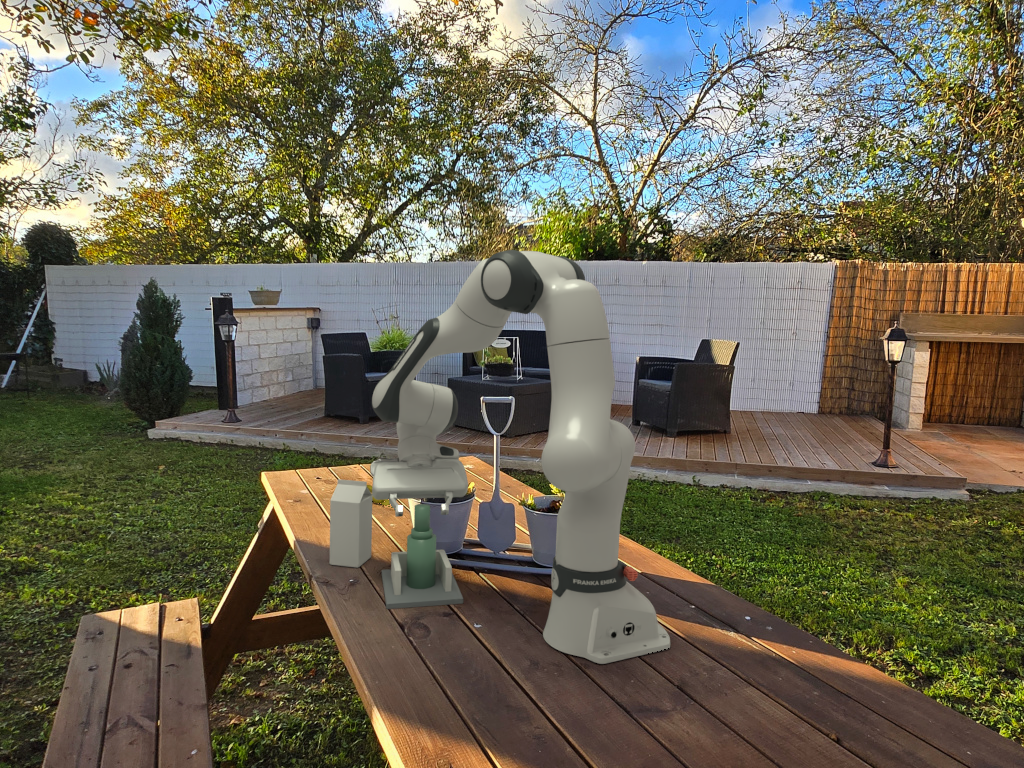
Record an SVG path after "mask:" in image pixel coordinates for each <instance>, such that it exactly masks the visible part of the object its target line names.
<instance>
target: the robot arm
mask: <svg viewBox="0 0 1024 768" xmlns="http://www.w3.org/2000/svg"><path fill="white" fill-rule="evenodd" d="M512 313H518V314H522V315H529V314H530V313H531V314H537V315H538V316H539V317H540V318H541V320H542V321H543V324H544V329H545V338H546V339H545V340H546V349H547V356H548V365H549V376H550V384H551V385H550V386H551V399H550V400H551V403H550V414H549V422H548V423H549V424H548V433H547V434H548V435H547V440H546V443H545V445H544V447H543V449H542V453H541V457H540V458H541V461H540V462H541V470H542V472H543V474H544V476H545V478H546V480H548V481H549V483H550V484H551V485H552V486H554V487H555V488H556V489H559V490H561V491H564V492H565V493H564V497H563V499H562V500H563V501H562V502H561V503H562V504H561V506H560V508H559V510H558V512H557V516H556V535H555V536H556V538H555V539H556V541H555V556H554V557H553V559H552V568H551V578H550V579H551V590H552V595H551V596H552V597H551V601H550V607H549V611H548V616H547V620H546V623H545V626H544V628H543V631H542V636H543V639H544V641H545V642H546V643H547V644H548V645H549V646H550V647H552V648H553V649H555V650H558V651H559V652H562V653H564V654H568V655H571V656H572V655H573V656H575V657H576V656H577V657H580V658H585V659H587V660H589V661H591V662H593V663H595V664H596V663H597V664H600V665H604V664H609V663H613V662H618V661H622V660H627V659H630V658H635V657H639V656H644V655H648V653H649V654H652V652H653V653H658V652H660V651H661V650H662V651H665V650H664V649H666V650H669V649H670V648H671V638H670V635H669V634H668V632H667V630H666V629H665V628H664V627H663V626H662V625H661V624H660V623H659V622H658V615H657V612H656V608H655V607H654V605H653V604H652V603H651V601H650V600H649V599H648V598H647V597H646V596H645V595H644V594H643V593H641V591H640V590H638V589H637V588H636V587H634V586H633V584H631V583H629V582H634V581H636V580H637V579H638V577H639V573H638V571H637V570H636V569H634V568H633V567H632V566H627V564H625V562H624V561H621V560H620V559H619V550H620V548H619V547H620V546H619V545H620V530H621V520H622V512H623V508H624V502H625V499H626V495H627V488H628V484H629V478H630V472H631V466H632V462H633V459H634V456H635V452H636V440H635V437H634V435H633V432H632V431H631V430H630V428H628V427H627V426H626V425H625V424H623V423H622V422H620V421H617V420H614V419H611V415H612V414H611V413H612V412H611V411H612V410H611V409H612V401H613V400H612V399H613V394H614V390H615V387H616V378H615V369H614V361H613V360H614V359H613V354H612V345H611V343H612V342H611V337H610V329H609V325H608V324H609V323H608V319H607V315H606V311H605V307H604V303H603V300H602V297H601V294H600V291H599V290H598V288H597V287H596V286H595V284H593V283H591V282H590V281H588V280H586V277H585V273H584V271H583V269H582V268H581V267H580V265H579V264H578V263H576V261H574V260H573V259H570V258H569V257H567V256H562V255H552V254H550V253H549V254H548V253H544V252H541V251H535V250H534V251H533V250H520V251H519V250H515V249H508V250H502V251H499V252H496V253H494V254H492V255H491V256H490V257H488V258H485V259H483V260H481V261H480V262H479V263H478V264H477V265H476V267H474V269H473V270H472V272H471V273H470V274H469V275H468V277H467V279H466V280H465V282H464V283H463V284H462V287H461V288H460V290H459V292H458V294H457V296H456V298H455V300H454V302H453V303H452V304H451V305H450V306H449V307H448V308H447V309H446V310H445V311H444V312H443V313H441V314H440V315H438V316H436V317H434V318H430V319H428V320H426V322H424V324H423V325H422V326H421V327H420V329H418V331H417V333H415V334H414V336H413V337H412V339H411V341H409V343H408V344H407V346H406V347H405V349H404V350H403V352H402V353H401V354H400V356H399V357H398V358H397V359H396V361H395V363H394V364H393V366H392V367H390V368H391V369H389V371H388V372H386V374H384V375H383V377H381V378H380V379H379V381H378V382H377V384H376V385H375V386H374V387H375V388H374V390H373V392H372V393H373V394H372V397H371V408H372V409H373V411H374V413H375V414H376V415H377V417H378V418H379V419H380V420H381V421H382V422H387V423H396V435H397V438H398V443H397V458H396V457H393V458H377V459H376V460H374V461H373V462H371V463H370V465H369V467H370V469H369V471H370V475H371V477H373V478H372V485H371V486H372V496H373V497H374V498H375V499H376V500H381V499H389V502H390V504H391V506H392V507H393V508H394V510H393V511H394V514H395V516H394V517H398V518H399V517H404V505H399V503H398V502H397V500H404V499H407V500H411V499H435V498H436V499H437V498H438V499H440V498H442V499H444V501H445V503H441V504H440V515H442V516H444V515H445V516H448V515H449V512H450V505H451V503H452V502H453V501H452V500H453V498H463V497H464V496H466V494H467V492H468V490H469V481H468V476H467V471H466V469H465V465H464V463H462V461H461V460H460V452H459V450H458V449H457V448H456V447H455V448H454V447H450V446H448V445H447V446H446V445H444V444H439V443H438V442H437V436H439V435H441V434H443V433H444V432H445V431H447V430H448V429H449V428H451V426H453V424H454V423H455V422H456V420H457V417H458V414H459V403H458V398H457V396H456V394H455V393H454V391H453V389H452V388H450V387H447V386H445V385H444V386H443V385H439V384H437V383H429V382H424V381H419V380H415V378H416V377H417V375H418V374H419V373H420V371H421V370H422V368H423V367H424V366H425V364H426V363H427V362H428V361H430V360H431V359H432V358H436V357H439V356H442V355H449V354H461V353H462V354H463V353H465V354H467V353H469V354H470V353H476V352H480V351H483V350H485V349H487V348H489V347H490V346H492V344H494V342H496V340H497V338H499V336H500V334H501V333H502V331H503V329H504V328H505V326H506V324H507V321H508V320H509V318H510V316H511V314H512ZM627 580H628V581H629V582H628V581H627ZM668 648H669V649H668ZM657 651H658V652H657ZM662 651H661V652H662Z"/></svg>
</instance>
